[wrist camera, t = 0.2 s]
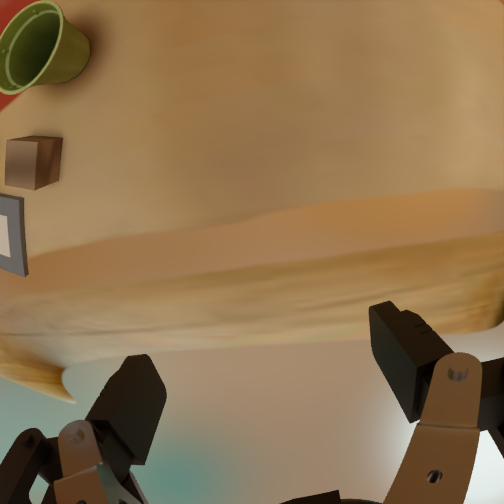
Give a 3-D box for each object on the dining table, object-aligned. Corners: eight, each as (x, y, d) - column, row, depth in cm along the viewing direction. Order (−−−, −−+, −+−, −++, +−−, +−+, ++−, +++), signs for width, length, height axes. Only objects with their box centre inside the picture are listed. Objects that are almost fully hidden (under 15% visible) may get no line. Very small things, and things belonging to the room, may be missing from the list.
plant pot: (27, 82, 23) (-20, 81, 15) (64, 14, 20) (22, -5, 12) (76, 107, 25) (29, 107, 17) (119, 32, 22) (81, 8, 14)
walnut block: (32, 135, 26) (6, 140, 21) (63, 137, 26) (37, 142, 22) (29, 175, 28) (4, 185, 23) (59, 180, 28) (34, 190, 24)
